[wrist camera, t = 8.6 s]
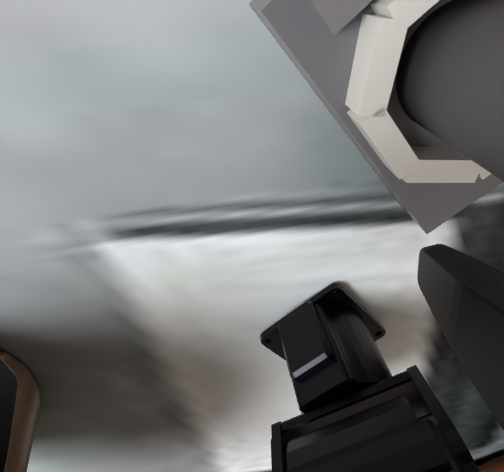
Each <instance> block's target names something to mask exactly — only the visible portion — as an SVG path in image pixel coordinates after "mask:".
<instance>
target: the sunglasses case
mask: <svg viewBox="0 0 504 472" xmlns="http://www.w3.org/2000/svg"><path fill="white" fill-rule="evenodd" d="M477 467H478V469H479V471H480V472H504V454H503V455H502V456H501V457H496V458H493V459H491V460H489V461H488V462H486V463H484V464H483V465H480V466H477Z"/></svg>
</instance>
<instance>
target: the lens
mask: <svg viewBox="0 0 504 472" xmlns="http://www.w3.org/2000/svg"><path fill="white" fill-rule="evenodd" d="M396 90H397V96H398V99H399V103H400V105H401V107H402V109H403V111H404V112H405V113H406V115H407V116H408V117H409V118H410V119H411V120H413V121H414V122H415V123H417V124H418V125H420V126H421V127H423V128H424V129H426V130H427V131H429V132H430V133H432V134H433V135H435V136H436V137H438V138H439V139H441V140H442V141H444V142H445V143H447V144H448V145H450V146H451V147H453V148H454V149H456V150H457V151H459V152H460V153H462V154H463V155H465V156H466V157H468V158H469V159H471V160H472V161H474V162H475V163H477V164H478V165H480V166H481V167H483V168H484V169H485V170H487V171H488V172H490V173H491V174H493V175H494V176H496V177H497V178H499V179H500V180H502V181H503V182H504V0H451V1H449V2H447V3H445V4H444V5H442V6H441V7H439V8H438V9H436V10H435V11H434V12H432V13H431V14H430V15H429V16H428V17H427V18H426V19H425V20H424V21H423V22H422V23H421V24H420V25H419V26H418V28H417V29H416V30H415V32H414V33H413V34H412V36H411V37H410V39H409V41H408V43H407V44H406V46H405V49H404V51H403V53H402V56H401V59H400V62H399V65H398V70H397V78H396Z"/></svg>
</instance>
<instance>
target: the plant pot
mask: <svg viewBox="0 0 504 472" xmlns="http://www.w3.org/2000/svg"><path fill="white" fill-rule="evenodd" d="M0 357H1V358H2V359H3V360H4V362H5V363H6V364H7V365H8V366H9V367H10V368H11V369H12V371H13V372H14V373H15V374H16V376H17V379H18V391H17V398H16V405H15V412H14V419H13V426H12V433H11V440H10V446H9V452H8V458H7V463H6V467H5V472H26V471H27V466H28V461H29V457H30V452H31V447H32V442H33V438H34V433H35V429H36V424H37V420H38V416H39V412H40V407H41V396H40V391H39V388H38V385H37V383H36V381H35V379H34V378H33V376H32V375H31V373H30V372H29V371H28V370H27V368H26V367H25V366H24V365H23V364H22V363H21V362H19V361H18V360H16V359H15V358H14V357H12V356H11V355H10V354H8V353H4V352H2V353H0Z"/></svg>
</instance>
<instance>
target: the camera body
mask: <svg viewBox="0 0 504 472" xmlns="http://www.w3.org/2000/svg"><path fill="white" fill-rule="evenodd" d="M449 1H451V0H253V1H252V2H251V3H250V4H249V5H250V6H251V7H252V9H253V10H254V11H255V13H256V14H257V15H258V17H259V18H260V19H261V21H262V22H263V23H264V25H265V26H266V27H267V29H268V30H269V31H270V33H271V34H272V35H273V37H274V38H275V39H276V41H277V42H278V43H279V45H280V46H281V47H282V49H283V50H284V51H285V53H286V54H287V55H288V57H289V58H290V59H291V61H292V62H293V63H294V65H295V66H296V67H297V69H298V70H299V71H300V73H301V74H302V75H303V77H304V78H305V79H306V80H307V82H308V83H309V84H310V86H311V87H312V88H313V90H314V91H315V92H316V94H317V95H318V96H319V98H320V99H321V100H322V102H323V103H324V104H325V106H326V107H327V108H328V110H329V111H330V112H331V114H332V115H333V116H334V118H335V119H336V120H337V122H338V123H339V124H340V126H341V127H342V128H343V130H344V131H345V132H346V134H347V135H348V136H349V138H350V139H351V140H352V142H353V143H354V144H355V146H356V147H357V148H358V150H359V151H360V152H361V153H362V155H363V156H364V157H365V159H366V160H367V161H368V163H369V164H370V165H371V167H372V168H373V169H374V171H375V172H376V173H377V175H378V176H379V177H380V179H381V180H382V181H383V183H384V184H385V185H386V187H387V188H388V189H389V191H390V192H391V193H392V195H393V196H394V197H395V199H396V200H397V201H398V203H399V204H400V205H401V206H402V207H403V208H404V210H405V211H406V212H407V213H408V214H409V215H410V216H411V217H412V218H413V219H414V221H415V222H416V223H417V224H418V225H419V226H420V227H421V228H422V229H423V230H424V232H425V233H426V234H428V233H429V232H431V231H432V230H434V229H435V228H437V227H438V226H439V225H441V224H442V223H444V222H445V221H447V220H448V219H450V218H451V217H452V216H454V215H455V214H457V213H458V212H460V211H461V210H463V209H464V208H465V207H467V206H468V205H470V204H471V203H473V202H474V201H476V200H477V199H478V198H480V197H481V196H483V195H484V194H486V193H487V192H489V191H490V190H491V189H493V188H494V187H496V186H497V185H499V184H500V183H502V182H503V181H502V180H500V179H499V178H497V177H496V176H494V175H493V174H491V173H490V172H488V171H487V170H485V169H484V168H483V167H481V166H480V165H478V164H477V163H475V162H474V161H472V160H471V159H469V158H468V157H466V156H465V155H463V154H462V153H460V152H459V151H457V150H456V149H454V148H453V147H451V146H450V145H448V144H447V143H445V142H444V141H442V140H441V139H439V138H438V137H436V136H435V135H433V134H432V133H430V132H429V131H427V130H426V129H424V128H423V127H421V126H420V125H418V124H417V123H415V122H414V121H413V120H411V119H410V118H409V117H408V116H407V115H406V113H405V112H404V111H403V109H402V107H401V105H400V103H399V99H398V96H397V90H396V78H397V70H398V65H399V62H400V59H401V56H402V53H403V51H404V49H405V46H406V44H407V43H408V41H409V39H410V37H411V36H412V34H413V33H414V32H415V30H416V29H417V28H418V26H419V25H420V24H421V23H422V22H423V21H424V20H425V19H426V18H427V17H428V16H429V15H430V14H431V13H432V12H434V11H435V10H436V9H438V8H439V7H441V6H442V5H444V4H445V3H447V2H449Z"/></svg>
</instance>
